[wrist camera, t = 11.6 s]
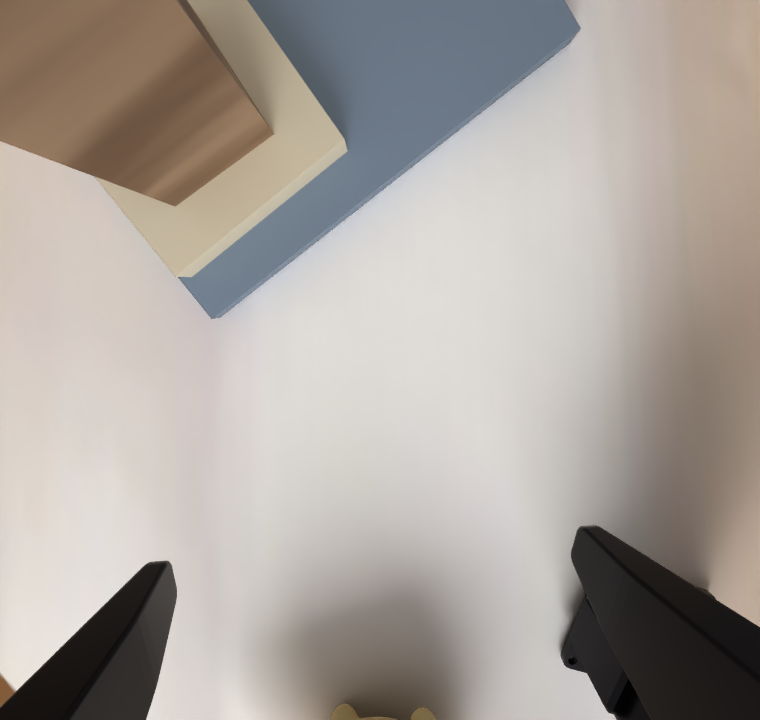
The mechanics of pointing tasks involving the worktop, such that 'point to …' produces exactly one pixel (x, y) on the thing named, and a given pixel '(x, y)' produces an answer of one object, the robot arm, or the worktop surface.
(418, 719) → the toy pig
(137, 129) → the walnut pillar
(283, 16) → the board
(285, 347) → the worktop surface
